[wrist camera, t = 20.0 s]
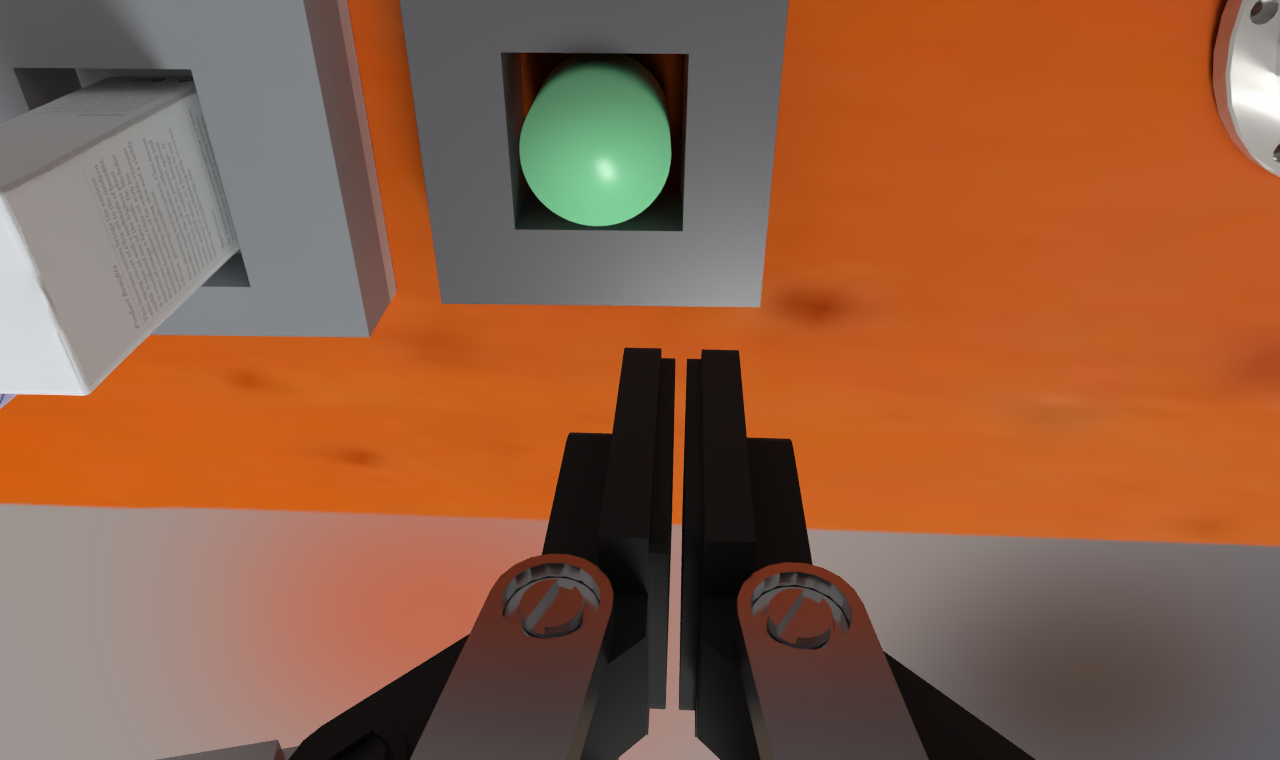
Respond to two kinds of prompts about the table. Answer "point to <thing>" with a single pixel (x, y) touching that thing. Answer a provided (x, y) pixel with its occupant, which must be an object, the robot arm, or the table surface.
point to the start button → (597, 139)
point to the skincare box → (103, 228)
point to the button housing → (564, 250)
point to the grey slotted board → (241, 144)
